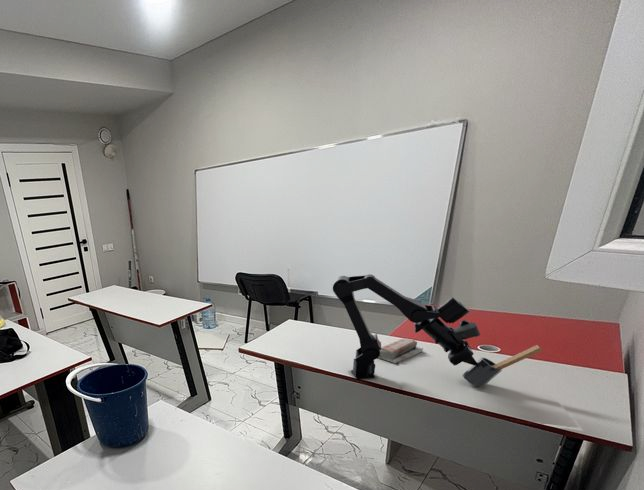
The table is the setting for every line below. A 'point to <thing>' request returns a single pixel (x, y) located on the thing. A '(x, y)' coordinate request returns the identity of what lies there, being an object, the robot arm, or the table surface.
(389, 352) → the packaged product
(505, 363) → the wooden stick
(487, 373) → the grey cylinder
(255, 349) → the table surface
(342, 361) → the table surface
